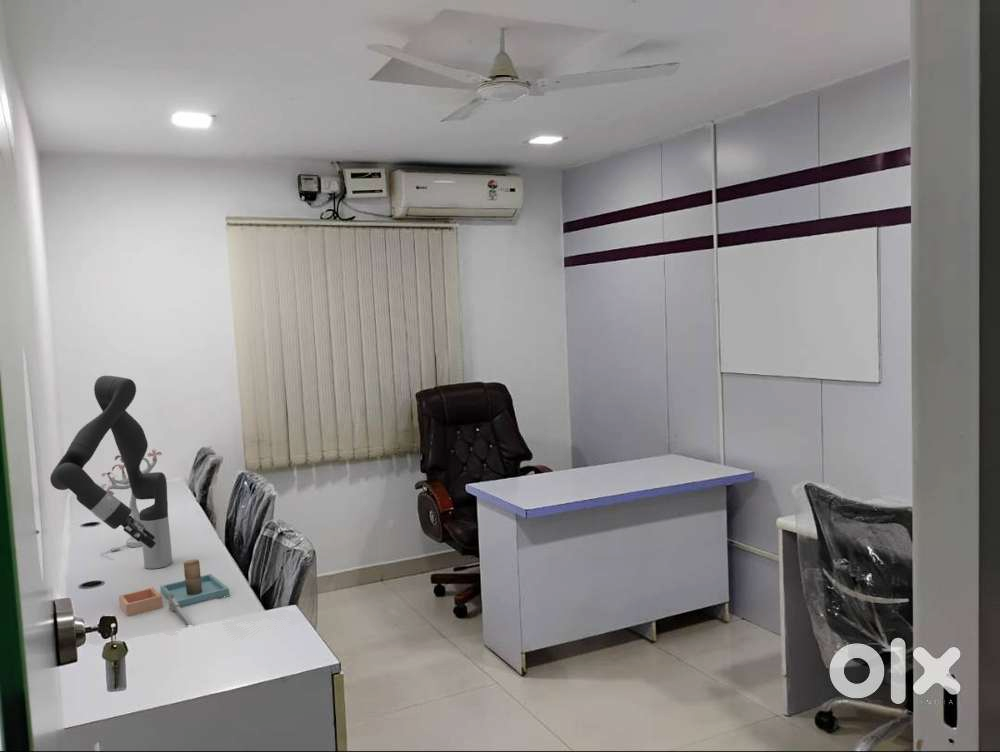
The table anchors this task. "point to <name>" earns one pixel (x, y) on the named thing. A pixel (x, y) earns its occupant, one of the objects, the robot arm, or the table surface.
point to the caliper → (177, 609)
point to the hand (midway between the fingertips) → (153, 542)
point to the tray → (209, 591)
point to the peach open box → (140, 601)
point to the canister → (192, 577)
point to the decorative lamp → (134, 513)
